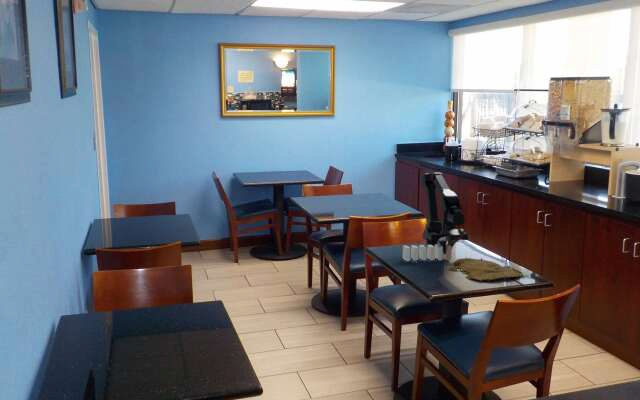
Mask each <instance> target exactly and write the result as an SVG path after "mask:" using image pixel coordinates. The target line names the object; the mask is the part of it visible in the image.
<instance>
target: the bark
mask: <svg viewBox="0 0 640 400" xmlns="http://www.w3.org/2000/svg"><path fill="white" fill-rule="evenodd" d="M452 264H453V265H452V266H450V267H448V269H449V270H451V271H454V272H455V271H456V272H458V271H457V269H460V270H461V269H462V271H464V272H462V271H461V274H463V275H464V274H465V275H466V276H465V278H466V279H468V280H473V279H474V280H478V281H487V282H490V281H495V280H497V279H502V278H503V279H507V280H508V279H509V278H513V277H514V278H515V277H516V278H517V277H521V278H522V276H524V274H523V272H522V271H520V270H518V269H515V268H514V267H511V266H510V265H503V266H502V265H501V264H499V263H498V262H494V261H490V260H485V259H483V258H481V257H480V259H479V258H476V259H475V258H472V257H471V258H469V257H468V258H467V257H465V258H459V259H457V260H455V261H453V263H452Z"/></svg>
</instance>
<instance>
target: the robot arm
mask: <svg viewBox="0 0 640 400" xmlns="http://www.w3.org/2000/svg"><path fill="white" fill-rule="evenodd" d="M420 183H421V187H422V188H423V190H424V191H425V197H426V199H425V200H426V206H427V207H426V209H427V219H428V220H427V221H426V223H425V228H424V231H423V232H422V234H421V235H422V236H421V237H422V239H423V240H424V241H425V247H427V245H432V246H434V247H435V245H440V246H442V255H443V254H444V255H445V253H446V244H449V245H451V246H452V249H453V247H454V246H455V244H456V243H458V242H459V241H460V239H461V240H462V241H468V240H469V238H470V237H469V234H468V233H466V231H464V229H463V228H460V229H457V226H458V227H459V226H462V225H463V224H464V223H465V220H466V219H465V216H464V214H463V213H462V211H463V210H462V204H461V201H460V198H459V196H458V195H457V194H456V192H455V191H453V190H451V189H450V187H449V185H448V184H447V182H446V180H445V178H444V175H443V173H442V172H438V171H437V172H436V171H435V172H430V173H429V172H423V173H422V174H421V175H420ZM436 190H437V191H438V193H439V195H440V199H439V202H440V205H441V206H442V208H441V211H442V221H441V220H440V219H439V214H438V211H439V210H438V202H437V192H436ZM446 239H447V240H446ZM438 243H439V244H438Z"/></svg>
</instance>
